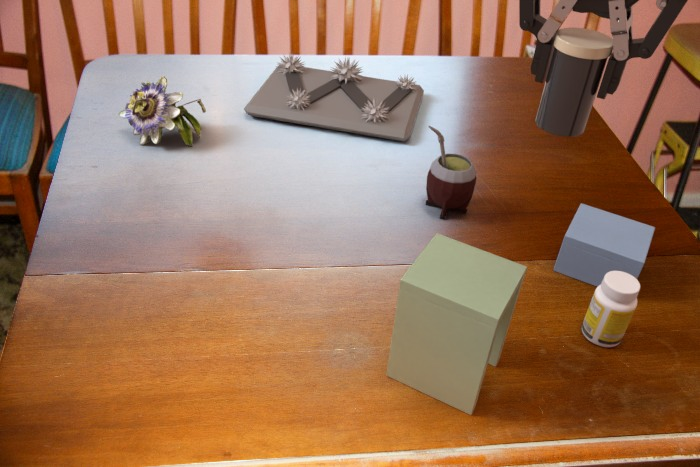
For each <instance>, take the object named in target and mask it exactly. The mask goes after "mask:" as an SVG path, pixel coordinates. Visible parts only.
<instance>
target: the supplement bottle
mask: <svg viewBox="0 0 700 467" xmlns="http://www.w3.org/2000/svg"><path fill="white" fill-rule="evenodd" d="M640 291H641V283H640V281H639V280H638V279H636V278H635V277H633V276H632V275H630V274H628V273H626V272H622V271H610V272H608V273H606V275H605V276H604V278H603V281H602V283H601V285H599V286H598V287H596V288H595V290H594V292H593V295H592V297H591V299H590V302H589V305H588V308H587V310H586V313H585V315H584V318H583V322H582V324H581V332H582V334H583V336H584V338H585V339H586V340H588V341H589V342H590V343H591V344H594V345H596V346H599V347H602V348H614V347H616V346H618V345H620V344H621V343H622V341H623V339H624V336H625V334H626V331H627V329H628V327H629V325H630V323H631V321H632V318H633V315H634V313H635V311H636V309H637V306H638V296H639V293H640Z"/></svg>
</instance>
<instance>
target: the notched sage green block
mask: <svg viewBox="0 0 700 467" xmlns="http://www.w3.org/2000/svg"><path fill="white" fill-rule="evenodd" d="M527 269H528V266H527V265H524V264H521V263H518V262H516V261H513V260H510V259H508V258H505V257H502V256H500V255H497V254H494V253H492V252H489V251H486V250H483V249H480V248H478V247H475V246H473V245H470V244H467V243H465V242H462V241H459V240H456V239H454V238H451V237H448V236H445V235H442V234H440V233H435V235H433V237H432V239H431V240H430V241H429V242H428V243H427V245H426V246H425V247H424V249H423V250H422V251H421V252H420V254H419V255H418V256H417V257H416V259H415V260H414V261H413V263H412V264H411V266H409V268H408V269H407V271H405V273H404V274H403V275H402V277H401V278H400V280H399V285H398V294H397V300H396V308H395V313H394V321H393V325H392V326H393V327H392V334H391V340H390V347H389V354H388V359H387V366H386V372H385V375H386V377H388V378H390V379H392V380H394V381H397V382H399V383H400V384H403V385H406V386H408V387H410V388H411V389H413V390H416V391H418V392H420V393H423V394H425V395H427V396H429V397H431V398H432V399H435V400H438V401H439V402H441V403H444V404H446V405H448V406H450V407H452V408H454V409H457V410H459V411H461V412H463V413H464V414H467V415H469V416H472V415H473V413H474V411H475V410H476V407H477V403H478V400H479V396H480V393H481V389H482V386H483V382H484V379H485V376H486V372H487V367H488V365H490V366H492V367H495V368H496V367H497V366H498V364H499V361H500V359H501V356H502V352H503V348H504V345H505V342H506V338H507V335H508V331H509V329H510V326H511V322H512V319H513V316H514V313H515V309H516V306H517V302H518V300H519V296H520V292H521V289H522V286H523V283H524V280H525V275H526V272H527Z"/></svg>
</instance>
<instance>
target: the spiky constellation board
mask: <svg viewBox="0 0 700 467" xmlns="http://www.w3.org/2000/svg"><path fill="white" fill-rule="evenodd" d="M279 59H280V62H279V61H276V65H277V66H275V67H276V68H274V70H273V71H272V73H271V74H270V75H268V77H267V79H266V80H265V81H264V82H263V84H262V85H261V86H260V88H259V89H258V90H257V91H256V92H255V94H254V95H253V96H252V97H251V99H250V100H249V102H248V103H247V104H246V105H245V107H244V108H243V110H244V112H245V113H247V115H248V116H250V117H255V118H261V119H268V120H273V121H280V122H284V123H285V122H286V123H292V124H298V125H302V126H303V125H304V126H309V127H314V128H320V129H327V130H332V131H338V132H345V133H351V134H357V135H363V136H369V137H375V138H380V139H386V140H393V141H396V142H397V141H398V142H405V141H407V140H409V139H410V138H411V135H412V132H413V129H414V126H415V122H416V119H417V116H418V112H419V109H420V105H421V103H422V99H423V96H424V92H425V89H423V88H422V86H421V85H420V84H417V82H418V81H417V80H415V81H414V79H415V77H413V76H410V77H408V76H409V75H408V74H406V75H404V76H402V75H401V74H400V76H399V77H397V78H398V80H396V81H395V80H390V79H383V78H378V77H370V76H366V75H365V76H364V75H362V74H361V73H362V70H363V66H360V67H358V66H359V61H356V59H354V60H353V61H352V62H351V61H350V57H348V58H347V57H346V56H344V61H343V62H342V60H341V59H340V58H339V57H338V60H337V61H338V62H336V61H335V60H334V63H335V65H334V67H331V66H330V69H329V70H327V69H320V68H313V67H307V66H305V61H302V59H301V57H300V55H299V54H297V55H296V56H295V57H294V54H291V53H288V56H286V55H285V54H284V53H283V58H282V57H279Z"/></svg>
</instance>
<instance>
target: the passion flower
mask: <svg viewBox="0 0 700 467" xmlns="http://www.w3.org/2000/svg"><path fill="white" fill-rule="evenodd" d="M141 85H142V86H140V87H141V88H140V89H138V88H136V89H135V90H134V91H132V94H130V95H129V96H130V98H129V102H126V104H125V107H124V109H123V110H120V111H119V113H118V116H119V117H120V118H122V119H127V121H128V124H129V125H130V126H131V127H132V128H133V136H140V142H139V145H142V146H143V145H147V143H149V141H150V139H151V142H152V143H153V144H154V145H157V144H159V143H160V142H161V140H162V137H163V136H162V135H163V129H165V130H168V131H173V130H174V129H175V128H177V129H178V130H177V131H178V133H179V134H180V137H181V139H182V141H183V143H184V144H185V145H186V146H190V147H193V144H194V142H193V141H194V136H193V135H194V134H193V129H194V131H195V133H196V134H197V136H198V139H201V133H202V127H201V124H200V121H198V119H197V117H195V116H194V115H193V114H191V113H190V112H189V111H188V110H187V108H185V107H184V106H185V105H190V104H192V103H195V102H196V103H197V104H198V105H199V106H200V108H201V111H202V114H205V113H206V112H207V111H206V110H207V109H206V107H205V105H204V104H203V102H202V98H199V99H195V100H192V101H189V102H186V103H184V104H182V105H178V106H176V105H177V103H179V102H181V100H183V97H184V93H183V92H180V91H179V92H177V91H176V92H172V93H167V92H166V91H167V86H168V79H167V78H166V76H165V75H164V76H161V77H160V78H159V79H158V80H157V82H155V83H154V82H151V81H146V83H145V82H141ZM189 124H190V125H191V126H190V125H189ZM192 128H193V129H192Z"/></svg>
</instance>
